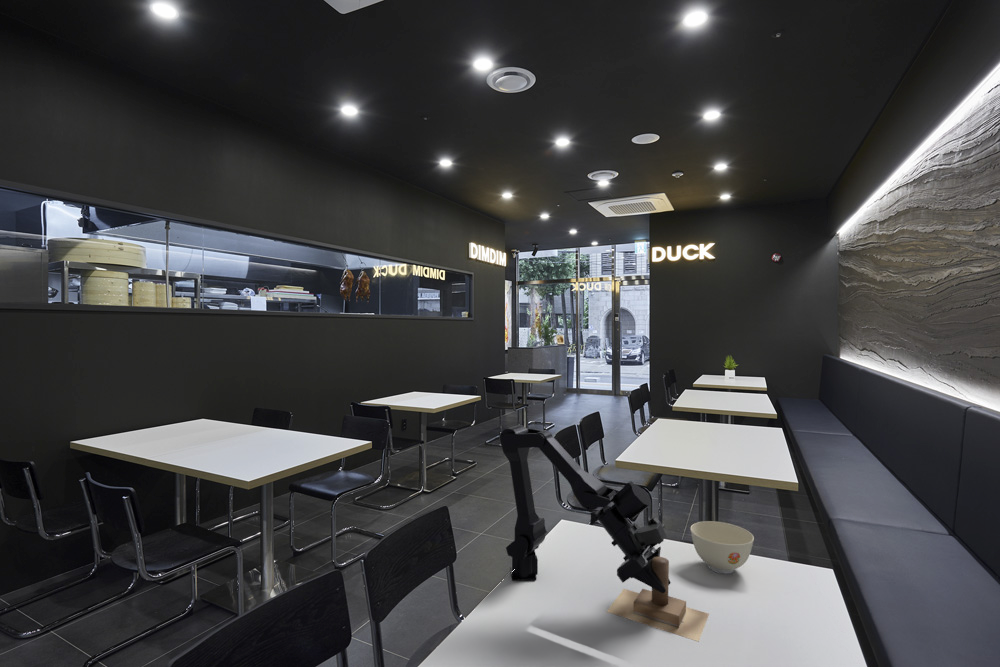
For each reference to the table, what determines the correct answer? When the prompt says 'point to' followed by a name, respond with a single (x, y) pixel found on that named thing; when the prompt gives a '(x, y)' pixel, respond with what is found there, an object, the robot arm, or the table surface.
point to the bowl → (722, 545)
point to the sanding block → (660, 599)
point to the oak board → (688, 627)
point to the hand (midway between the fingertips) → (666, 588)
